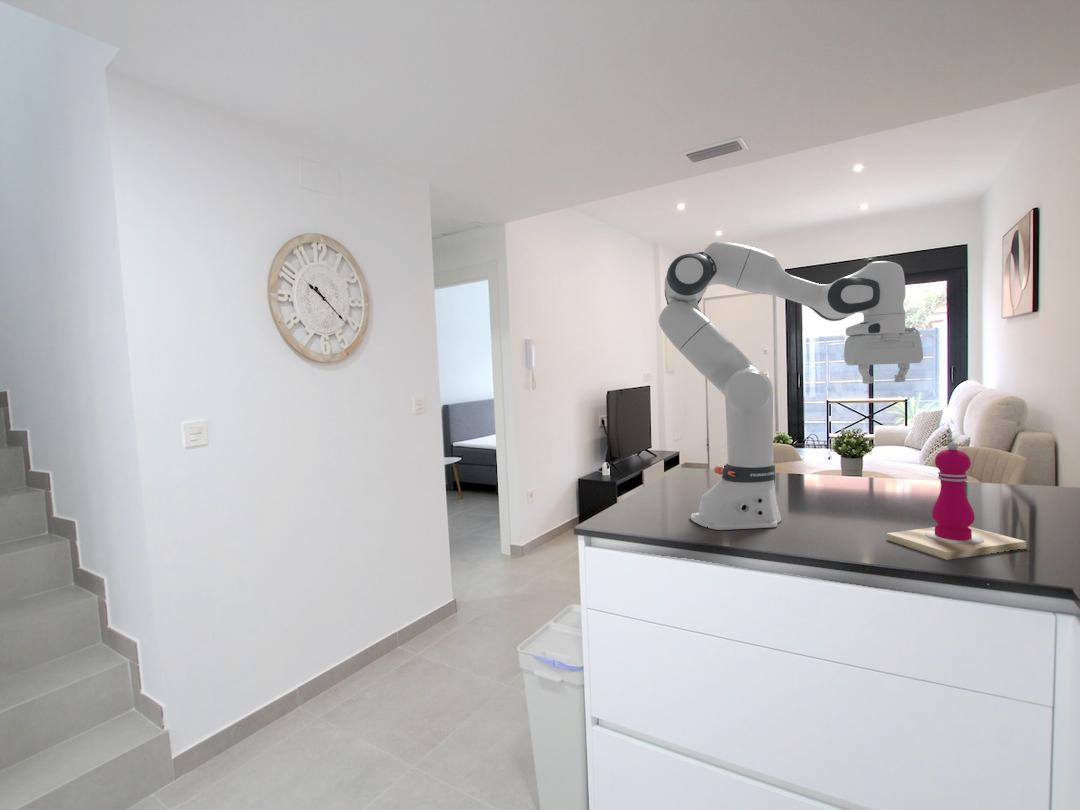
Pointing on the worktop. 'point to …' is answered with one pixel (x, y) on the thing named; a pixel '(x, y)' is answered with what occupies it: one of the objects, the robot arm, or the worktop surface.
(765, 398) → the robot arm
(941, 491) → the pepper mill
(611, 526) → the worktop surface
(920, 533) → the oak board
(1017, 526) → the worktop surface
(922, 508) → the worktop surface
